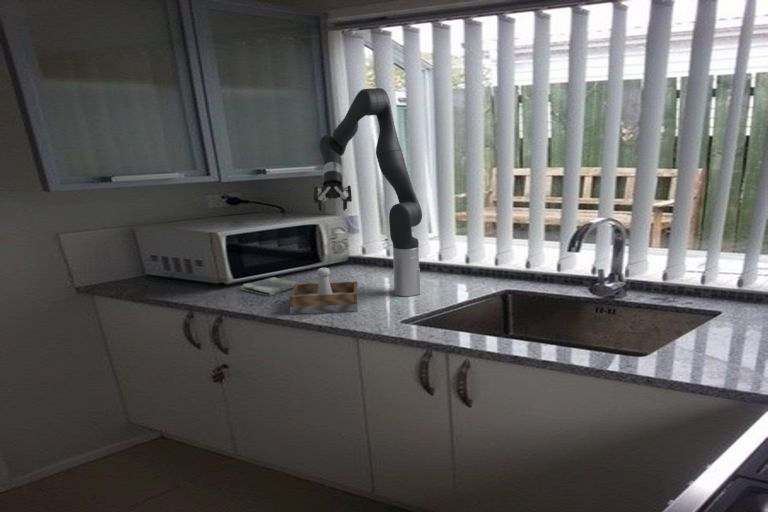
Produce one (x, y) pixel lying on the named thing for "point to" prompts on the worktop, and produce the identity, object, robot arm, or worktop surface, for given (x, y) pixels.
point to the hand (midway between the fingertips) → (332, 209)
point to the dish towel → (269, 286)
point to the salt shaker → (324, 281)
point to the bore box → (324, 298)
